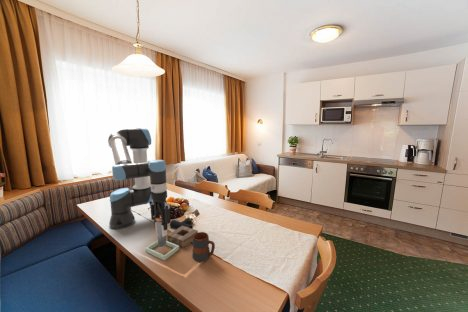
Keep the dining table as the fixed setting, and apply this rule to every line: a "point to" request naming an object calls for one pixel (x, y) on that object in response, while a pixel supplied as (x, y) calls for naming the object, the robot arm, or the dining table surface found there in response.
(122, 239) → the dining table surface
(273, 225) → the dining table surface
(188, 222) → the pipe connector
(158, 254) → the pale green rectangular frame
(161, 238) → the pin
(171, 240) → the socket block
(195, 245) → the mug
